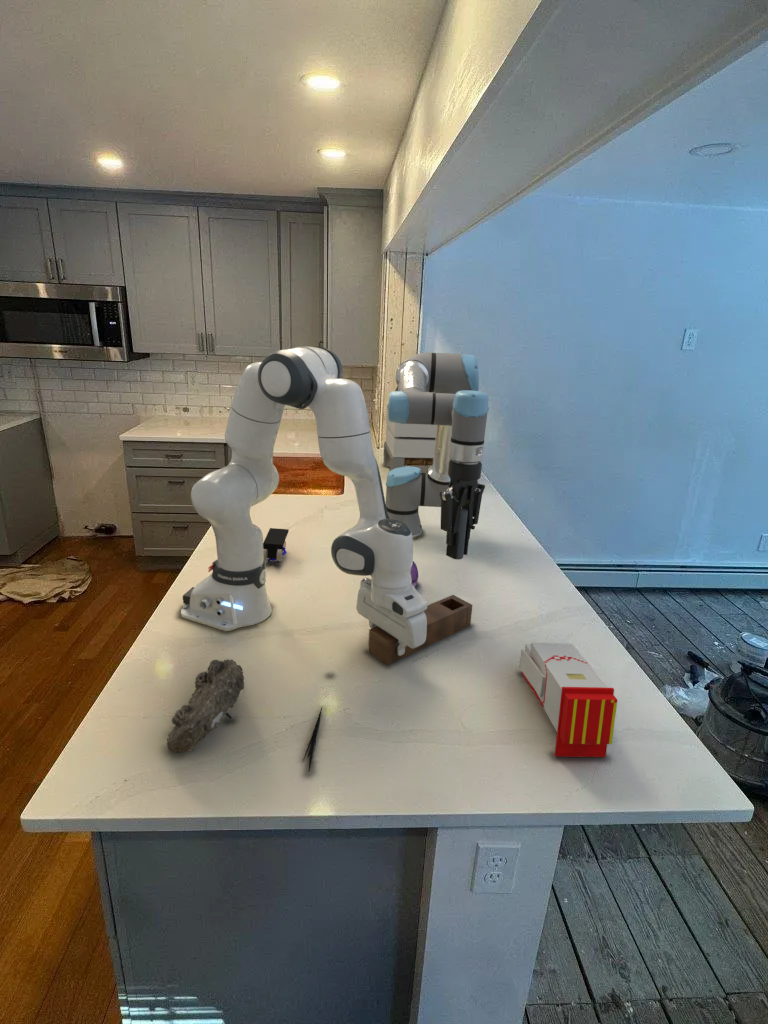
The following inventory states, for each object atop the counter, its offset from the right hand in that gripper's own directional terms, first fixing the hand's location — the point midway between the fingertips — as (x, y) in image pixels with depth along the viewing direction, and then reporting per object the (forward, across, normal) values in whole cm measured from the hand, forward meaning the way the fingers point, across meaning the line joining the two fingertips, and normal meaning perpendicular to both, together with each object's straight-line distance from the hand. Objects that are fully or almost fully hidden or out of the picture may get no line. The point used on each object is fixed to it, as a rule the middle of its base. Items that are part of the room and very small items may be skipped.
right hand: (456, 554), depth 137 cm
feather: (+20, -46, -9) cm, 51 cm away
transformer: (+20, +92, +106) cm, 141 cm away
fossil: (+20, -62, +4) cm, 65 cm away
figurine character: (+20, -15, +60) cm, 65 cm away
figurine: (+20, +5, +23) cm, 31 cm away
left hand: (+17, -21, 0) cm, 27 cm away
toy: (+20, -6, -35) cm, 41 cm away
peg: (+1, 0, 0) cm, 1 cm away
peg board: (+20, -10, 0) cm, 22 cm away
